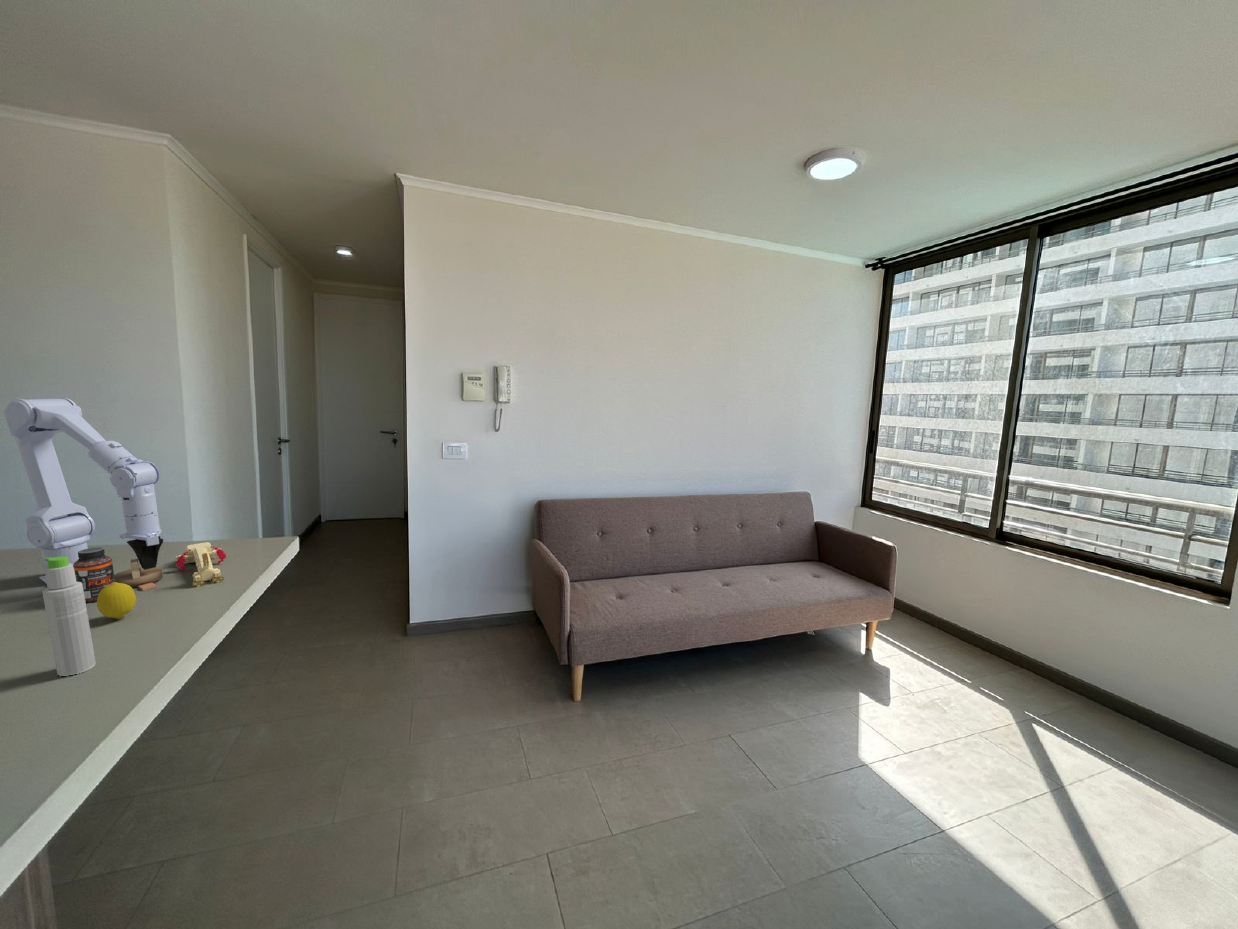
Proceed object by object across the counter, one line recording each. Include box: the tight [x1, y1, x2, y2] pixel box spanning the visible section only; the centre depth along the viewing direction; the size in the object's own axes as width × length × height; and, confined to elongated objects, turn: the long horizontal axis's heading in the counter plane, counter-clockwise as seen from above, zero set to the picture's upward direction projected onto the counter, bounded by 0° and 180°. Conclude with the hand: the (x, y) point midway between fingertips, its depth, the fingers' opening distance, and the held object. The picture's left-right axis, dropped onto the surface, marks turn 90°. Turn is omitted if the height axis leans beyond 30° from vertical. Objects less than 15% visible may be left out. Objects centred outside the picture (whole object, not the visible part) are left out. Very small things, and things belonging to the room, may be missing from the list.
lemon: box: [96, 582, 137, 620], centre depth 98 cm, size 6×6×8 cm
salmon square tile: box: [138, 582, 157, 591], centre depth 114 cm, size 2×2×1 cm
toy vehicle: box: [175, 541, 227, 587], centre depth 124 cm, size 10×9×25 cm
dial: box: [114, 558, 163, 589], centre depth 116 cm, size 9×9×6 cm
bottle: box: [41, 556, 97, 676], centre depth 80 cm, size 4×4×20 cm
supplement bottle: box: [73, 546, 115, 603], centre depth 107 cm, size 6×6×11 cm
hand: (149, 567), depth 116 cm, fingers closed
